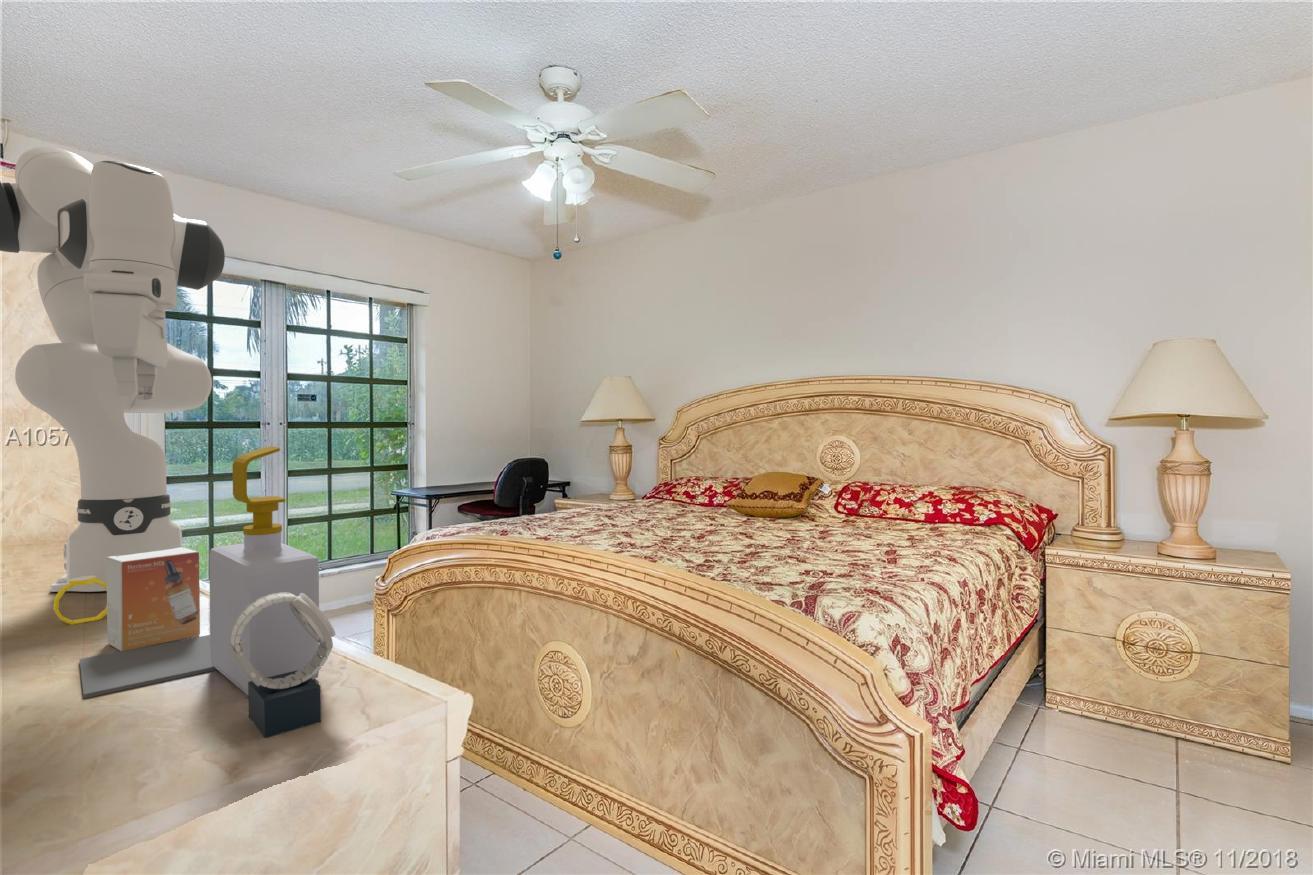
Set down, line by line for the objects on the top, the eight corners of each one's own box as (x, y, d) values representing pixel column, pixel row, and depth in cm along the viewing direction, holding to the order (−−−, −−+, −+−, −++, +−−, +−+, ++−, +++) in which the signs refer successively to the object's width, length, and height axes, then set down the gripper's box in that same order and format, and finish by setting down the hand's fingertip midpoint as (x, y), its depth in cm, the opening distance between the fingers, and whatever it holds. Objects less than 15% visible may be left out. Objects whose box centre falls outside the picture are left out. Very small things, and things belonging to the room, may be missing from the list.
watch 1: (57, 631, 85) (52, 585, 85) (55, 626, 87) (49, 582, 87) (117, 617, 90) (112, 574, 89) (113, 613, 91) (108, 571, 91)
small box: (120, 654, 76) (118, 561, 75) (106, 644, 79) (104, 556, 79) (202, 635, 82) (200, 550, 82) (185, 627, 85) (183, 545, 85)
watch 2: (344, 714, 59) (342, 592, 59) (240, 745, 54) (237, 610, 54) (324, 696, 63) (322, 581, 63) (225, 722, 58) (222, 597, 58)
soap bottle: (321, 679, 67) (321, 449, 66) (248, 700, 62) (246, 452, 61) (275, 649, 75) (274, 443, 74) (207, 665, 70) (205, 444, 69)
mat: (79, 662, 73) (79, 659, 73) (229, 634, 82) (229, 631, 82) (83, 698, 63) (83, 694, 63) (252, 662, 73) (252, 658, 73)
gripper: (124, 302, 93) (126, 401, 94) (78, 271, 75) (81, 394, 75) (178, 306, 96) (181, 401, 96) (147, 276, 78) (150, 394, 78)
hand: (137, 398), depth 86 cm, fingers open, 8 cm apart
